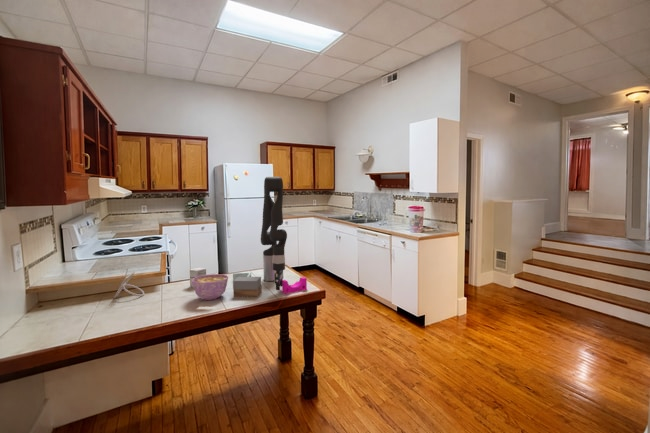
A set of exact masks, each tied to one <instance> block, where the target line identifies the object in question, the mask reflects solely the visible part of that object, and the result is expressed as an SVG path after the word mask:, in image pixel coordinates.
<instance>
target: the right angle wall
mask: <svg viewBox="0 0 650 433" xmlns="http://www.w3.org/2000/svg"><path fill="white" fill-rule="evenodd" d="M238 277H252V272H234V273H232V282H233V281H234V280H235V279H236V278H238Z"/></svg>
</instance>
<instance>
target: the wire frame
mask: <svg viewBox="0 0 650 433" xmlns="http://www.w3.org/2000/svg"><path fill="white" fill-rule="evenodd" d="M135 273H136V271H135V270H134V271H132V272H131V273H130V274H128V275H127V276H126V277H124V279H122V282H121V284H120V285H119V288H118V290H117V291H116V293H115V295H114V297H113V298H115V299H116V298H117V297H118V296H119V294H120V292H121V291H122V290H123V291H125V292H126V293H128V294H129V295H131V296H132V295H133V296H135V297H143V296H145V291H144V290H143V289H141V288H140V287H138V286H136V285H133V284H130V283H129V284H128V282H129V281H130V280H131V279H132V277H133V276H134V274H135ZM126 287H131V288H133V289H134V288H135V289H137V290H138V291H140V292H141V294H137V293H135V292H132V291H129V290H128V289H126Z"/></svg>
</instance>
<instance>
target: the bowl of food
mask: <svg viewBox="0 0 650 433" xmlns="http://www.w3.org/2000/svg"><path fill="white" fill-rule="evenodd" d="M228 280H229V275H227V274H221V273H220V274H219V273H217V274H216V273H213V274H212V273H211V274H206V275H203V276H199V277H195V278H193V279H192V283H193V287H194V288H193V287H192V288H193V290H194V292H195V294H196V296H197V297H199V298H200V299H202V300H205V301H212V300H216V299H218V298H219V297H221V296H222V295H224V293H226V289H227V285H228Z"/></svg>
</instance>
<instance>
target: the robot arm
mask: <svg viewBox="0 0 650 433" xmlns="http://www.w3.org/2000/svg"><path fill="white" fill-rule="evenodd" d="M263 183H264V184H263V208H262V225H261V226H262V227H261V232H260V233H261V234H260V243H261V245H263V246H270V247H269V248H266V249H264V250H263V252H262V256H263V257H262V260H263V262H262V263H263V280H264V281H267V282H272V281H273V282H274V284H275V291H280V290H281V287H282V280H284V271H285V270H286V257H285V256H286V255H285V247H286V242H287V239H288V233H287V231H286V229H284V228H279V229H278V227H279V226H282V225H284V217H283V216H284V215H283V201H284V200H283V199H284V181H283V179H282V177H281V176H266V177H265V178H264V181H263ZM276 192H277V194H276V196H277V197H276V200H275V202H274V200H273V199H272V197H271V194H270V193H276ZM269 229H270V230H269Z"/></svg>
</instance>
